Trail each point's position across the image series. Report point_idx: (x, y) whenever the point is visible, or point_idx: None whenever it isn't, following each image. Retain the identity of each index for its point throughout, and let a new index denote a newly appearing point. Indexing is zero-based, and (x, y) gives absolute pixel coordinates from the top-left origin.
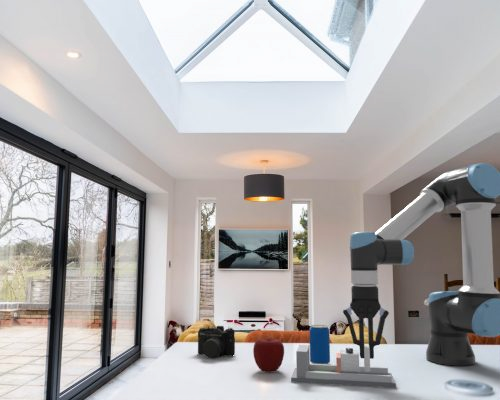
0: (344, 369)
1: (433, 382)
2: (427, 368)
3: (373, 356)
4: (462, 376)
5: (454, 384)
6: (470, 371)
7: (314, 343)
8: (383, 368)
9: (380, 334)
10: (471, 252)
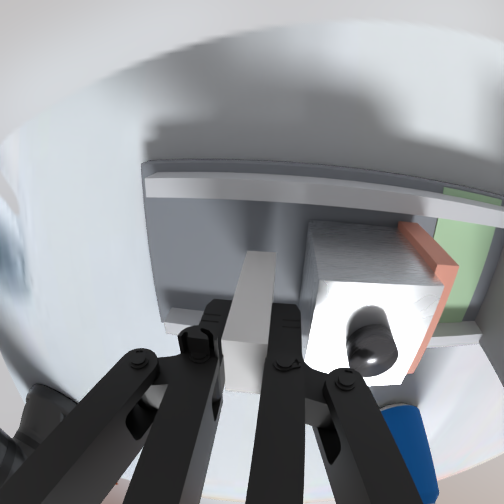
0: (392, 240)
1: (50, 262)
2: (89, 384)
3: (208, 306)
4: (19, 319)
5: (14, 249)
6: (21, 352)
7: (427, 456)
8: (182, 323)
9: (85, 410)
10: None
